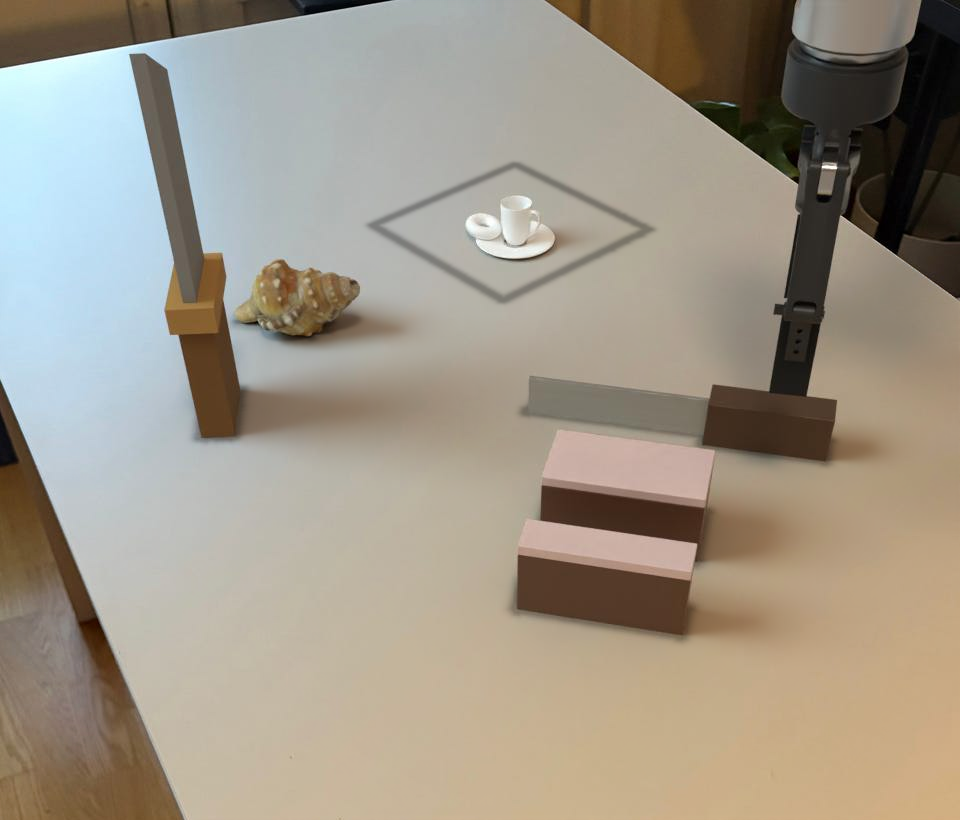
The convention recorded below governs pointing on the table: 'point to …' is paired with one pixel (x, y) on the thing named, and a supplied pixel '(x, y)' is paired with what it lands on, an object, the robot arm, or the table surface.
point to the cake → (627, 486)
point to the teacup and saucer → (511, 230)
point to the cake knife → (699, 414)
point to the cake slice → (604, 576)
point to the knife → (189, 263)
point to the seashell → (296, 299)
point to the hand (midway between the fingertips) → (794, 343)
